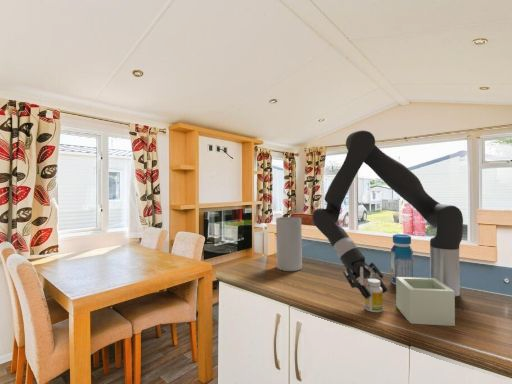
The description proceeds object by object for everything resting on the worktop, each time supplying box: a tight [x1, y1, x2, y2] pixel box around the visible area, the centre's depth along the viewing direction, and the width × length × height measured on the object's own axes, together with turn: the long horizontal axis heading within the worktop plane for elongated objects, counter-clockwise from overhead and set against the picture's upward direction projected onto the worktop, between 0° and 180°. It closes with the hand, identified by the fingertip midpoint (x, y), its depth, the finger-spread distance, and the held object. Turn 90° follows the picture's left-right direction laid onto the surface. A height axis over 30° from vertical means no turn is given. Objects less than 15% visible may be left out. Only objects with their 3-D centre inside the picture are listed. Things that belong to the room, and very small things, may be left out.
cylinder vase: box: [275, 216, 303, 272], centre depth 142 cm, size 12×12×25 cm
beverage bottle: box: [390, 233, 414, 286], centre depth 118 cm, size 8×8×20 cm
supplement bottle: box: [364, 278, 384, 313], centre depth 94 cm, size 5×5×10 cm
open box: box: [395, 276, 456, 327], centre depth 89 cm, size 12×12×10 cm
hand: (377, 294), depth 92 cm, fingers open, 8 cm apart
